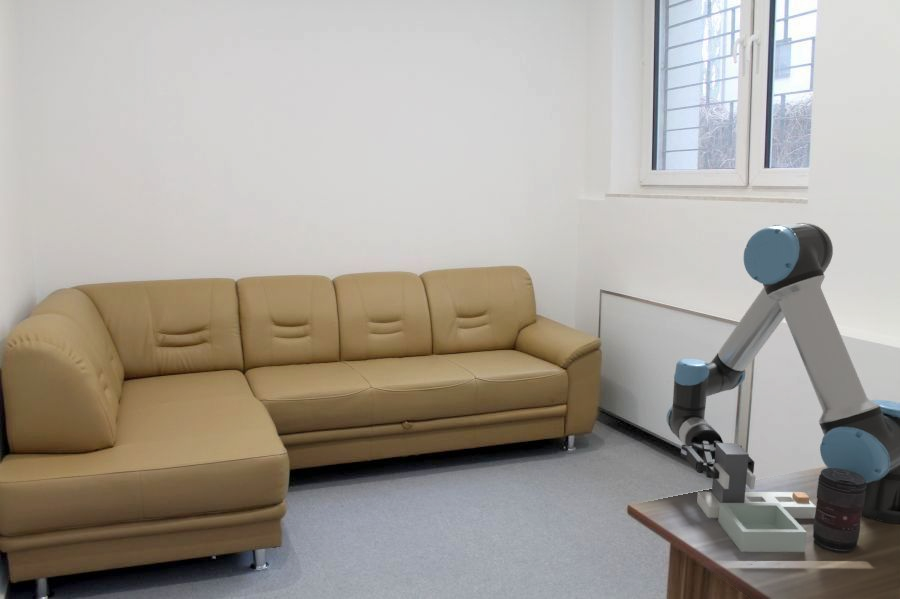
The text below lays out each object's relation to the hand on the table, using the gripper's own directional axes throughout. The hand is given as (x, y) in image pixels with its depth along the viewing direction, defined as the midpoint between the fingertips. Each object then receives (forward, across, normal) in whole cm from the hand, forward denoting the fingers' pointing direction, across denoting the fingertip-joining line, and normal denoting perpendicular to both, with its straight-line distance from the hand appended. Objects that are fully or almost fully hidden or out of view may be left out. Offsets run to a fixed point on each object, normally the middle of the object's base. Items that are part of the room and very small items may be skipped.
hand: (739, 482), depth 157 cm
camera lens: (+9, -16, -10) cm, 20 cm away
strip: (-5, -6, -10) cm, 12 cm away
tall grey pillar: (-5, 0, -8) cm, 10 cm away
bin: (+6, -2, -10) cm, 11 cm away
